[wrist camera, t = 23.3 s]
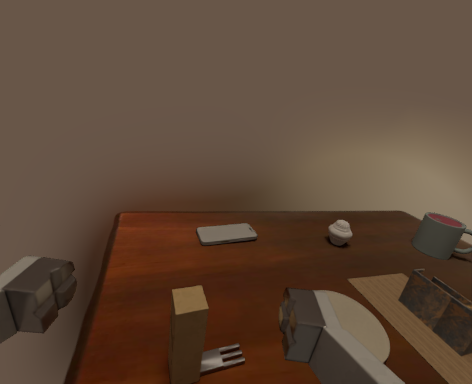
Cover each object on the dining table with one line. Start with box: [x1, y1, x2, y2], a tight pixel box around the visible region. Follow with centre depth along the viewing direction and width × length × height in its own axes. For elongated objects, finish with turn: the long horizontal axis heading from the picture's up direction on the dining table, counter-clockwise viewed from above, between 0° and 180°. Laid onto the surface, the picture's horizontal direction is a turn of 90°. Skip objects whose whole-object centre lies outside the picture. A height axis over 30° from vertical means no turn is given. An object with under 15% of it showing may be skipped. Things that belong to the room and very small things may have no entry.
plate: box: [319, 290, 390, 364], centre depth 39 cm, size 14×14×1 cm
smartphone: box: [196, 223, 258, 245], centre depth 61 cm, size 7×1×15 cm
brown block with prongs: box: [168, 285, 245, 384], centre depth 29 cm, size 10×3×12 cm, turn 111°
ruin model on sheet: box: [348, 269, 472, 384], centre depth 41 cm, size 25×16×10 cm, turn 16°
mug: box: [412, 212, 472, 260], centre depth 67 cm, size 14×9×10 cm
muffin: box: [328, 220, 352, 246], centre depth 65 cm, size 6×6×7 cm
